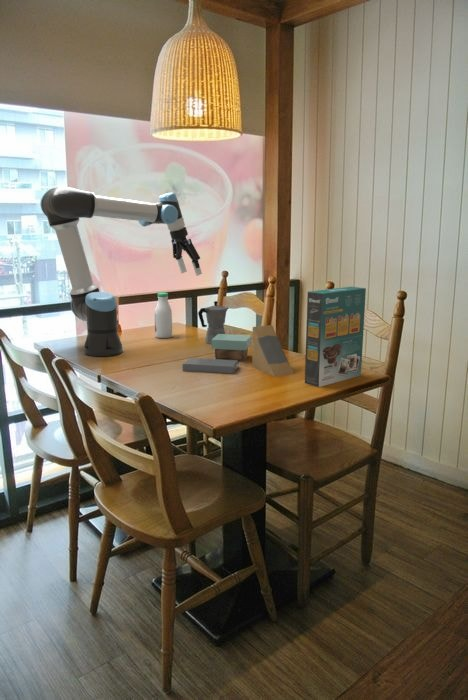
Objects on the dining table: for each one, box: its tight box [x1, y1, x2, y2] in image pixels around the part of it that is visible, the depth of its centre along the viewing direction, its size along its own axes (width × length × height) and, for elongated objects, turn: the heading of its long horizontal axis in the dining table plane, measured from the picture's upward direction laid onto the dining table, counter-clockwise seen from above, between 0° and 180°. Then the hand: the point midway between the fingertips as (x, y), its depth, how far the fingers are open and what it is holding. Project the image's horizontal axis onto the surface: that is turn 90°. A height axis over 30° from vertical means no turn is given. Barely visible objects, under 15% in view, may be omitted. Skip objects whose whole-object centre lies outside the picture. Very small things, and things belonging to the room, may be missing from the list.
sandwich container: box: [252, 324, 295, 378], centre depth 198 cm, size 9×15×15 cm, turn 29°
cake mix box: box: [304, 286, 367, 388], centre depth 185 cm, size 22×6×30 cm, turn 130°
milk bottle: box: [154, 292, 173, 339], centre depth 253 cm, size 8×8×20 cm
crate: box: [214, 348, 249, 362], centre depth 217 cm, size 11×9×7 cm
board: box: [182, 357, 239, 375], centre depth 201 cm, size 18×9×2 cm, turn 79°
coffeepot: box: [197, 300, 230, 345], centre depth 242 cm, size 15×9×18 cm, turn 126°
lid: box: [211, 333, 252, 350], centre depth 216 cm, size 13×11×4 cm
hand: (191, 273), depth 257 cm, fingers open, 13 cm apart
